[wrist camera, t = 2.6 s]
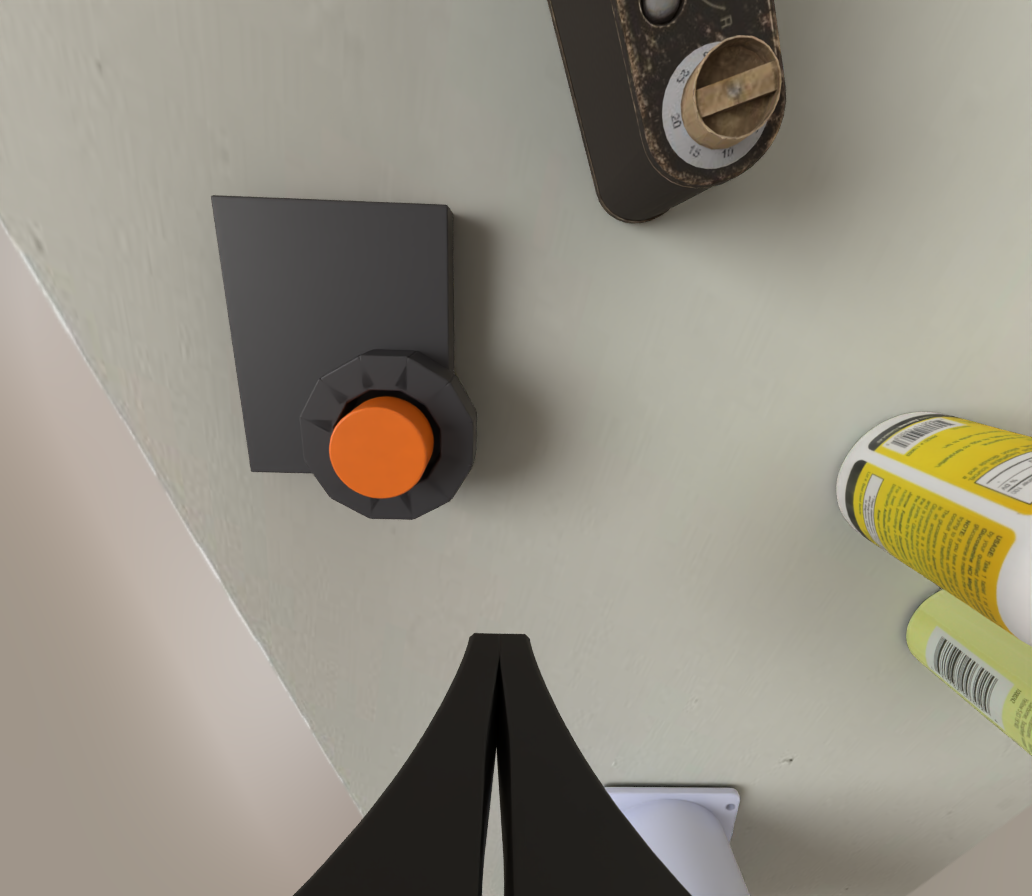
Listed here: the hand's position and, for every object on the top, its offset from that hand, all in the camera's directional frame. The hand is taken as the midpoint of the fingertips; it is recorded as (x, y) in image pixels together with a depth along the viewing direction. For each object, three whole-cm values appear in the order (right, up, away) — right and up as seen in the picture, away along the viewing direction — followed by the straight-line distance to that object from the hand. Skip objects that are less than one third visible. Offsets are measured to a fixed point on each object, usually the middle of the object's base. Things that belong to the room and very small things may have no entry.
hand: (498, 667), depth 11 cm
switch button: (-4, +6, +6) cm, 9 cm away
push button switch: (-6, +10, +8) cm, 14 cm away
